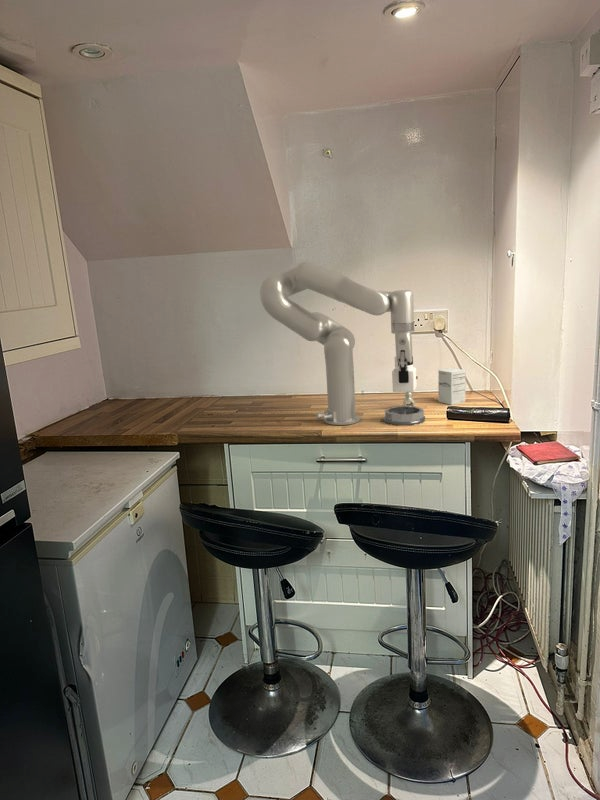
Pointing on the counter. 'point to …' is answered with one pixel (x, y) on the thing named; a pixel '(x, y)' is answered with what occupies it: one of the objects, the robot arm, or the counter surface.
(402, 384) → the medicine bottle
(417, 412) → the ring collar
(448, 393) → the supplement box
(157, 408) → the counter surface
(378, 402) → the counter surface
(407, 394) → the valve
